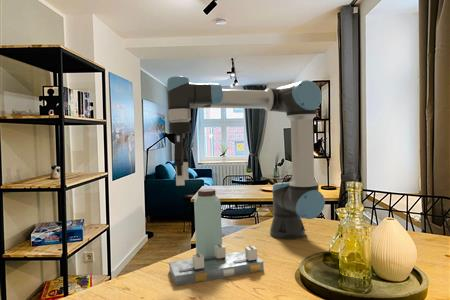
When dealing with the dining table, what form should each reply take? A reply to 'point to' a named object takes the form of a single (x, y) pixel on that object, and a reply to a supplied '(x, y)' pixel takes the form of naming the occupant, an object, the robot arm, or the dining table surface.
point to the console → (214, 268)
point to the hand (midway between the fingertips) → (182, 182)
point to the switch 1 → (198, 261)
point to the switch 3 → (251, 253)
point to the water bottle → (207, 222)
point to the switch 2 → (220, 251)
